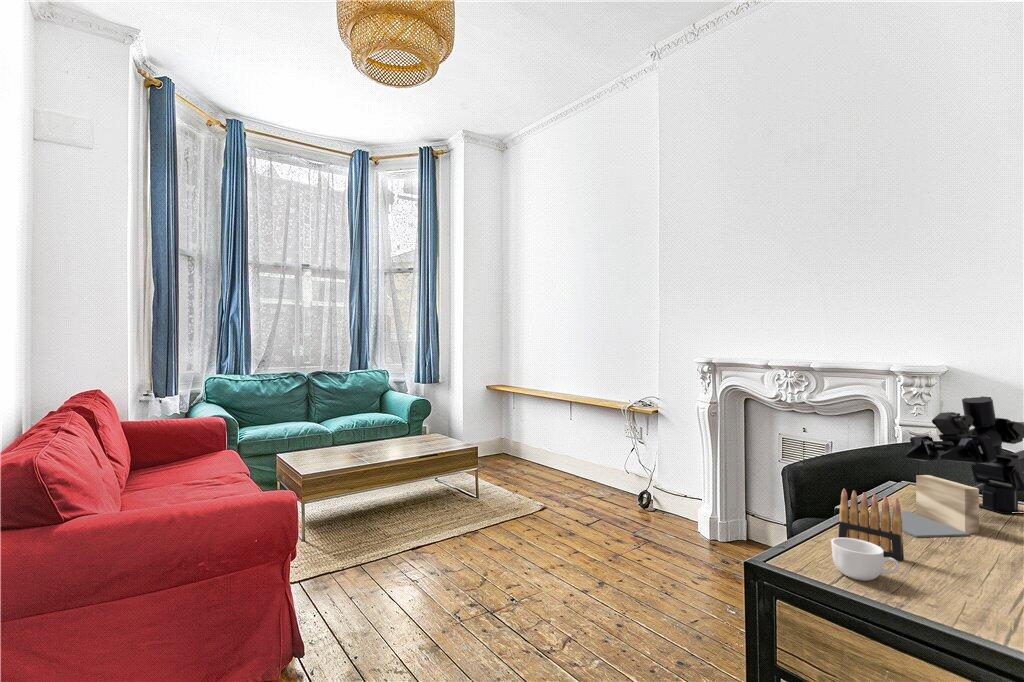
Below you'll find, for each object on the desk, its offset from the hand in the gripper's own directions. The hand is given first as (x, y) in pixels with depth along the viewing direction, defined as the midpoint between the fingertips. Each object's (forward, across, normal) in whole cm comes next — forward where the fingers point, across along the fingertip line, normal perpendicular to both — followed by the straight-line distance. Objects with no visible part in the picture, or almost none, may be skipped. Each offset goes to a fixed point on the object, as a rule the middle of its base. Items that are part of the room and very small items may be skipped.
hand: (923, 456), depth 122 cm
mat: (+12, +2, +13) cm, 18 cm away
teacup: (+46, +25, +10) cm, 53 cm away
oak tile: (+3, +2, +15) cm, 16 cm away
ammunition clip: (+35, +16, +10) cm, 40 cm away
